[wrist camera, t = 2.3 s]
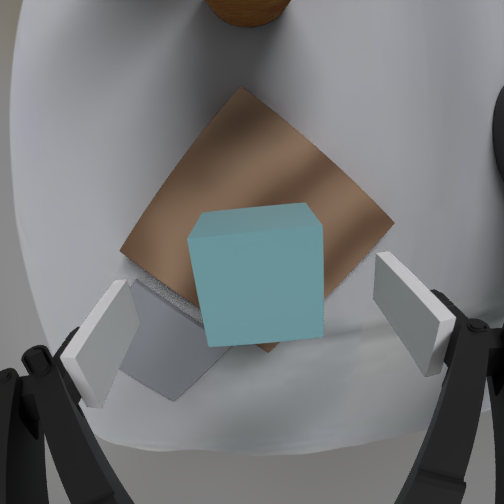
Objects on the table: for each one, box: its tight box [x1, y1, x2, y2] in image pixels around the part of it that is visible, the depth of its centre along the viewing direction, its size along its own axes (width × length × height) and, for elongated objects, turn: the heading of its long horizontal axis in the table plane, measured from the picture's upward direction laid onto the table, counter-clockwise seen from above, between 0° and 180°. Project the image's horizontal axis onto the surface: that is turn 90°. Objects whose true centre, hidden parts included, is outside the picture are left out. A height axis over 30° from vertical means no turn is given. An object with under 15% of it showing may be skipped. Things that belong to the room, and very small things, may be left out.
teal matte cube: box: [187, 202, 324, 347], centre depth 18 cm, size 6×7×5 cm
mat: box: [119, 279, 231, 401], centre depth 30 cm, size 11×11×1 cm
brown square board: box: [120, 86, 394, 353], centre depth 22 cm, size 16×16×10 cm
